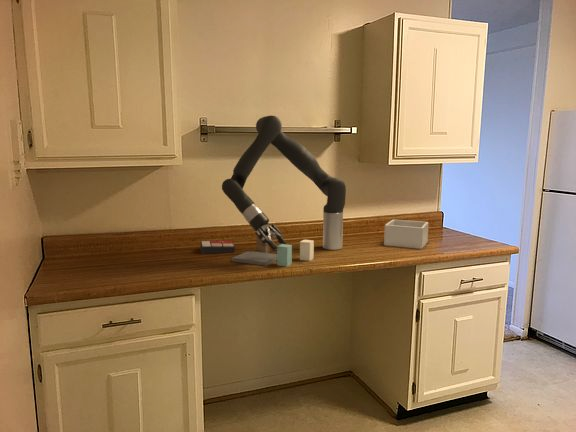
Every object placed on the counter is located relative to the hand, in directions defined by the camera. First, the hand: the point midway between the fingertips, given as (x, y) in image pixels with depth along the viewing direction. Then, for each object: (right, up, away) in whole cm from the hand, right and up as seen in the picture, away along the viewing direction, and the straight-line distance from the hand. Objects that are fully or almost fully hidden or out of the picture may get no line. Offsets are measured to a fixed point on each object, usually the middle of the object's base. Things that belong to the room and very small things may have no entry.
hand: (280, 247), depth 194 cm
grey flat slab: (-10, -6, +8) cm, 14 cm away
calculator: (-30, -4, +24) cm, 38 cm away
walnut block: (-8, -4, +20) cm, 22 cm away
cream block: (+11, -6, +9) cm, 16 cm away
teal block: (+2, -7, 0) cm, 7 cm away
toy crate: (+62, -1, +41) cm, 74 cm away
